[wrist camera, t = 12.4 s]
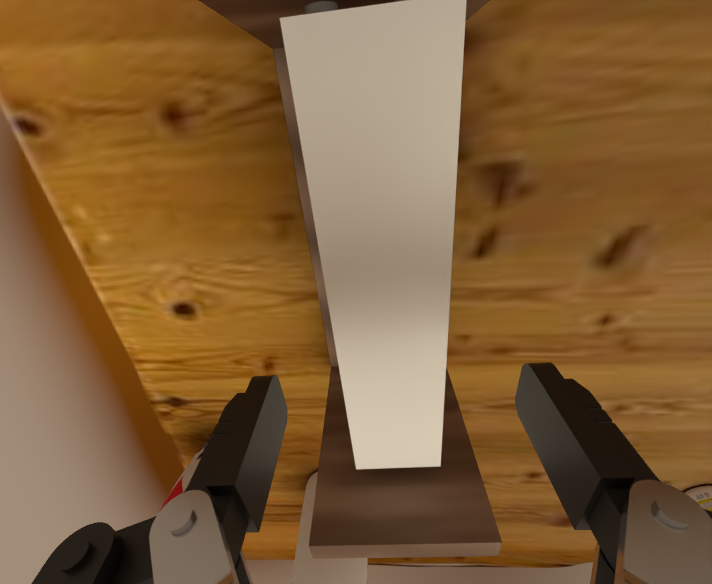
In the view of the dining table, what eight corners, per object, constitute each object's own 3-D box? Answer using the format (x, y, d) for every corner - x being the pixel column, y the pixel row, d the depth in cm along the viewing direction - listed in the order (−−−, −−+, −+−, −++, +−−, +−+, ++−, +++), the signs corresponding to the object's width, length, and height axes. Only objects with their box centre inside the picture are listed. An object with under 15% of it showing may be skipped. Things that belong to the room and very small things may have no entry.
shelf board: (299, 38, 11) (279, 17, 9) (442, 20, 11) (466, -8, 8) (357, 426, 22) (356, 469, 19) (431, 422, 21) (440, 466, 19)
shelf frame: (273, 19, 18) (20, -228, 5) (456, -6, 17) (755, -375, 4) (334, 367, 31) (313, 558, 18) (440, 361, 30) (498, 555, 17)
